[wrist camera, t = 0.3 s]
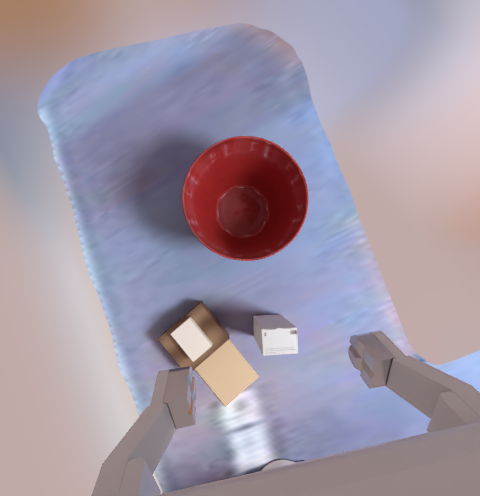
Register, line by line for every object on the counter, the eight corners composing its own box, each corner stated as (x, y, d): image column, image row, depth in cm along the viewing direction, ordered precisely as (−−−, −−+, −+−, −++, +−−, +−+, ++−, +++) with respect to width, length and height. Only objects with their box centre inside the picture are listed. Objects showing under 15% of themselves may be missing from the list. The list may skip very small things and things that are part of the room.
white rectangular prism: (212, 343, 59) (211, 346, 57) (194, 358, 59) (193, 362, 57) (190, 316, 59) (189, 318, 57) (172, 331, 59) (170, 334, 57)
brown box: (229, 334, 63) (229, 339, 59) (190, 368, 62) (187, 375, 58) (202, 301, 64) (200, 303, 60) (162, 334, 63) (157, 339, 59)
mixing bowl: (308, 230, 66) (332, 220, 51) (224, 279, 64) (222, 284, 49) (260, 148, 68) (269, 114, 52) (175, 194, 66) (158, 173, 50)
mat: (258, 376, 63) (259, 376, 62) (225, 405, 62) (225, 406, 62) (226, 336, 63) (226, 337, 63) (192, 365, 62) (192, 366, 62)
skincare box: (253, 336, 64) (260, 357, 49) (252, 314, 64) (259, 329, 49) (283, 334, 64) (299, 355, 49) (282, 312, 64) (297, 327, 49)
